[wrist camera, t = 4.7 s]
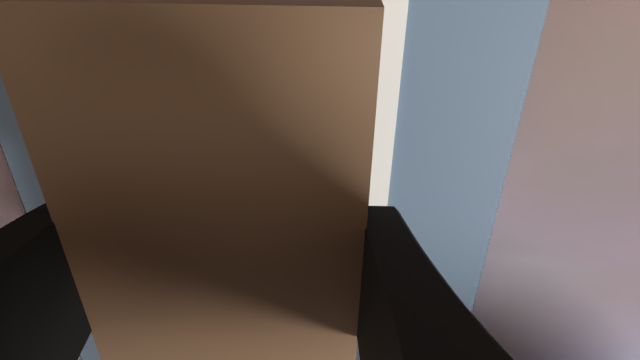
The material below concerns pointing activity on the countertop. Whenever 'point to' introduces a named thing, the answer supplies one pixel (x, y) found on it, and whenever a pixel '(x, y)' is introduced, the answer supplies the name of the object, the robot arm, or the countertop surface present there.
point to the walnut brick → (203, 166)
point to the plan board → (421, 125)
